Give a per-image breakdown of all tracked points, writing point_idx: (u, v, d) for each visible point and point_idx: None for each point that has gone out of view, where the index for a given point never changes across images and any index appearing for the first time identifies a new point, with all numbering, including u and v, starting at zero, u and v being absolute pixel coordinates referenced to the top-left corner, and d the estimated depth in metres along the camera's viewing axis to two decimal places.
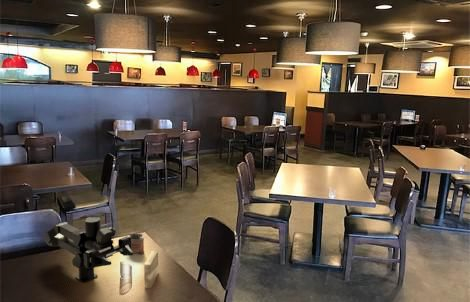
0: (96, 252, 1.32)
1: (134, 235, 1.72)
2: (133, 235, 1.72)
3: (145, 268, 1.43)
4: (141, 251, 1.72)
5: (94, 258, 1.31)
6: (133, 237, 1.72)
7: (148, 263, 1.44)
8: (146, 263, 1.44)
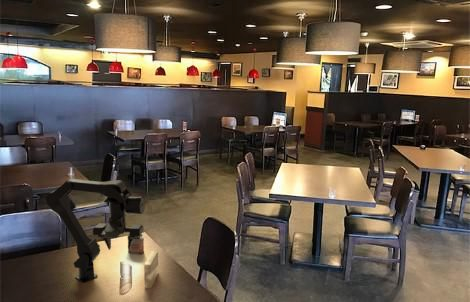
0: (102, 236, 1.44)
1: None
2: None
3: (145, 268, 1.43)
4: (141, 251, 1.72)
5: None
6: None
7: (148, 263, 1.44)
8: (146, 263, 1.44)
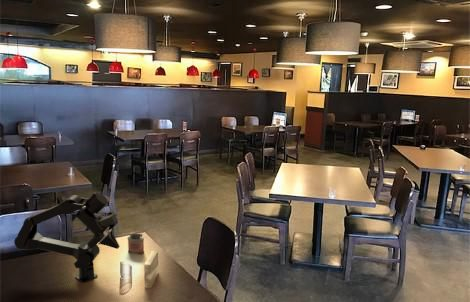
0: (109, 234, 1.46)
1: (134, 235, 1.72)
2: (133, 235, 1.72)
3: (145, 268, 1.43)
4: (141, 251, 1.72)
5: (105, 238, 1.45)
6: (133, 237, 1.72)
7: (148, 263, 1.44)
8: (146, 263, 1.44)
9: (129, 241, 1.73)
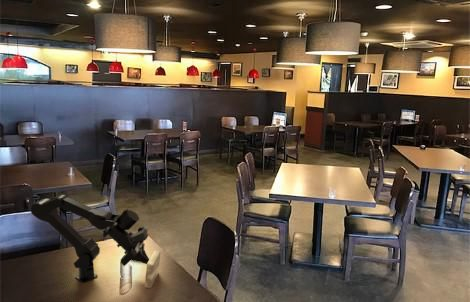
0: (141, 250, 1.46)
1: None
2: None
3: (147, 268, 1.43)
4: None
5: (137, 254, 1.46)
6: None
7: (151, 263, 1.43)
8: (149, 263, 1.43)
9: None
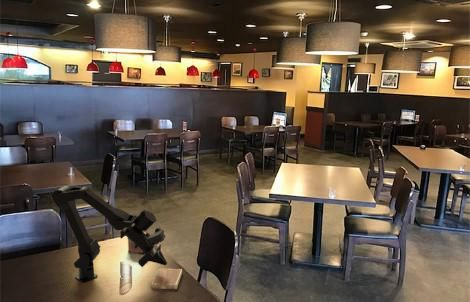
0: (158, 251, 1.46)
1: None
2: None
3: (171, 285, 1.44)
4: (141, 251, 1.72)
5: (154, 255, 1.46)
6: None
7: (177, 286, 1.45)
8: (177, 285, 1.45)
9: (129, 241, 1.73)
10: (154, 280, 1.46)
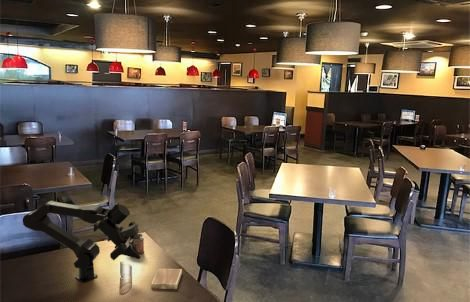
0: (131, 245, 1.46)
1: None
2: None
3: (171, 285, 1.44)
4: (141, 251, 1.72)
5: (127, 249, 1.45)
6: (133, 237, 1.72)
7: (177, 286, 1.45)
8: (177, 284, 1.45)
9: None
10: (154, 280, 1.46)
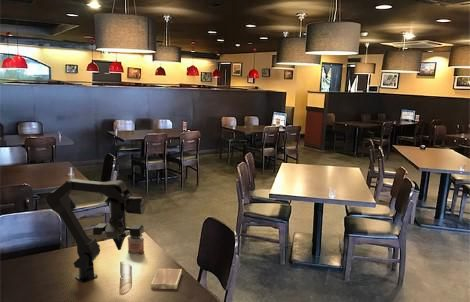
0: None
1: None
2: None
3: (171, 285, 1.44)
4: (141, 251, 1.72)
5: None
6: (133, 237, 1.72)
7: (176, 286, 1.45)
8: (176, 285, 1.45)
9: (129, 241, 1.73)
10: (154, 280, 1.46)
